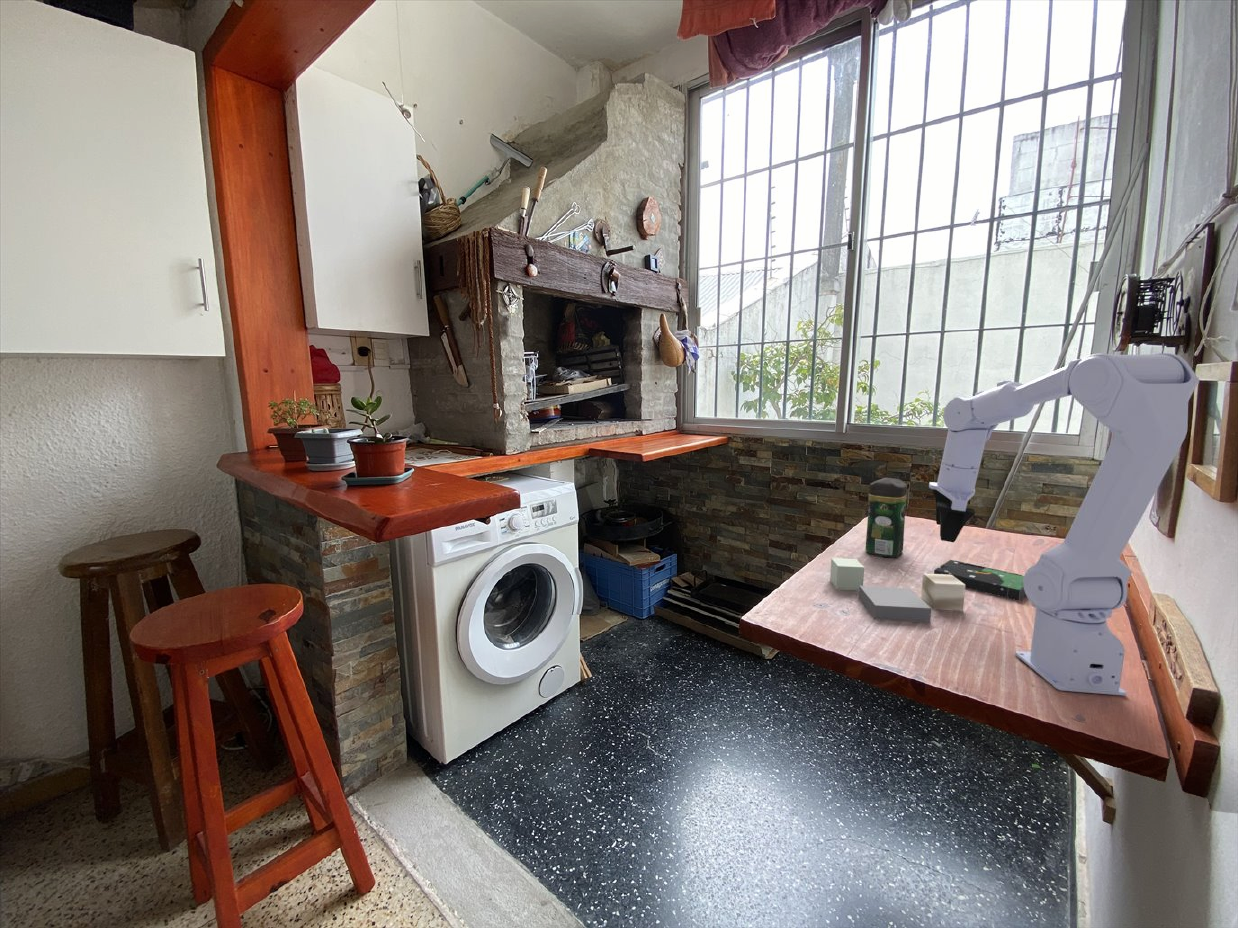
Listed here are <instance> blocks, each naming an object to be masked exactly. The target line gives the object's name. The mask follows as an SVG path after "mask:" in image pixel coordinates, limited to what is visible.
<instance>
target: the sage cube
mask: <svg viewBox="0 0 1238 928" xmlns="http://www.w3.org/2000/svg"><path fill="white" fill-rule="evenodd" d="M830 559H831V561H830V575H829V576H830V577H829V580H831V581H830V582H831V584H832V585H833V584H834V585H833V587H834V588H835V590H843V591H857V592H859V586H864V577H865V566H864V565H863V564H862V563H861V562H860V561H859V560H858V559H857V558H838V557H837V558H836V557H831V558H830Z"/></svg>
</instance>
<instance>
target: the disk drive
mask: <svg viewBox="0 0 1238 928" xmlns="http://www.w3.org/2000/svg"><path fill="white" fill-rule="evenodd" d="M933 574H945V575H953V576H954V577H955V578H957V579H958V580H960V581H961V582H962V583H964V584H965V585H966V586H965V589H969V590H970V589H971V590H974V591H978V592H982V593H985V594H990V595H994V596H998V597H1001V598H1005V599H1008V600H1014V601H1016V602H1017V601H1018V602H1021V601H1022V600H1023V599H1024V598H1025V597H1027V596H1026V593H1025V591H1024V586H1023V579H1024V575H1022V574H1019V573H1013V572H1008V571H1004V570H1000V569H995V568H991V567H987V566H981V565H978V564H977V565H976V564H972V563H968V562H963V561H959V560H953V559H948V561H946V562H945V563H943V564H941V565H940V567H936V568H935V569H934V570H933Z"/></svg>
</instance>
